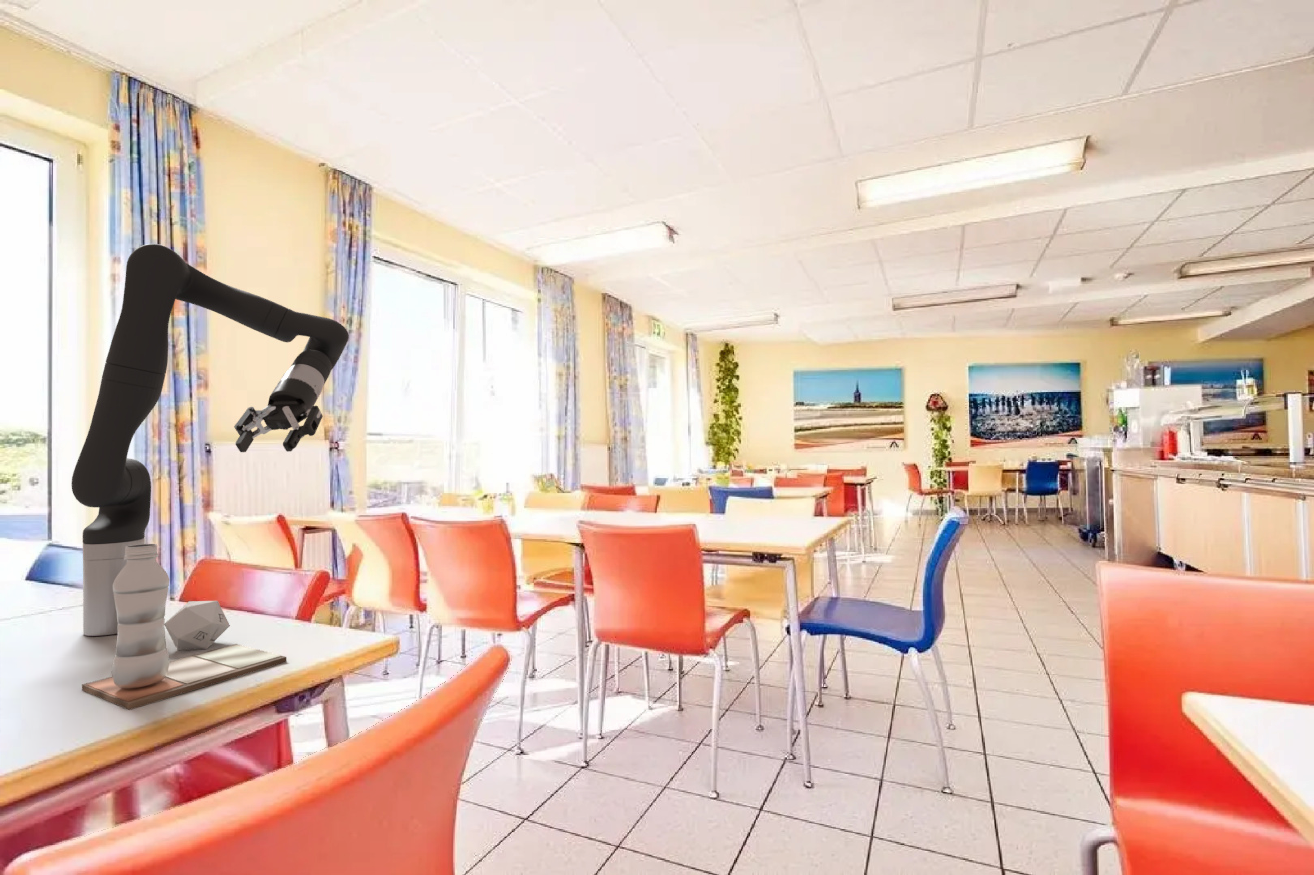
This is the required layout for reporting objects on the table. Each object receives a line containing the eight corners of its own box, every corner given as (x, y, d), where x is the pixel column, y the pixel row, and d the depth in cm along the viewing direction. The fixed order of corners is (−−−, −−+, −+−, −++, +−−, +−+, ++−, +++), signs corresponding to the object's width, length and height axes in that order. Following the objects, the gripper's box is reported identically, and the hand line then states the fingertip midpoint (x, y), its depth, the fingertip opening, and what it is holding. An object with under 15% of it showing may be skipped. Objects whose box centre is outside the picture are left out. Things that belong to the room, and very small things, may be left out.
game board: (81, 689, 93) (81, 683, 93) (236, 648, 111) (236, 643, 111) (129, 709, 85) (129, 702, 85) (286, 661, 104) (286, 656, 104)
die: (179, 662, 106) (221, 610, 110) (142, 634, 108) (184, 584, 111) (210, 663, 114) (249, 615, 117) (175, 638, 116) (214, 591, 119)
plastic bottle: (155, 675, 96) (155, 541, 96) (179, 682, 93) (179, 543, 93) (102, 689, 90) (102, 547, 91) (125, 697, 87) (125, 550, 87)
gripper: (254, 377, 126) (214, 435, 115) (326, 376, 126) (293, 433, 115) (270, 406, 132) (234, 463, 120) (340, 404, 131) (310, 462, 120)
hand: (263, 448), depth 117 cm, fingers open, 8 cm apart
